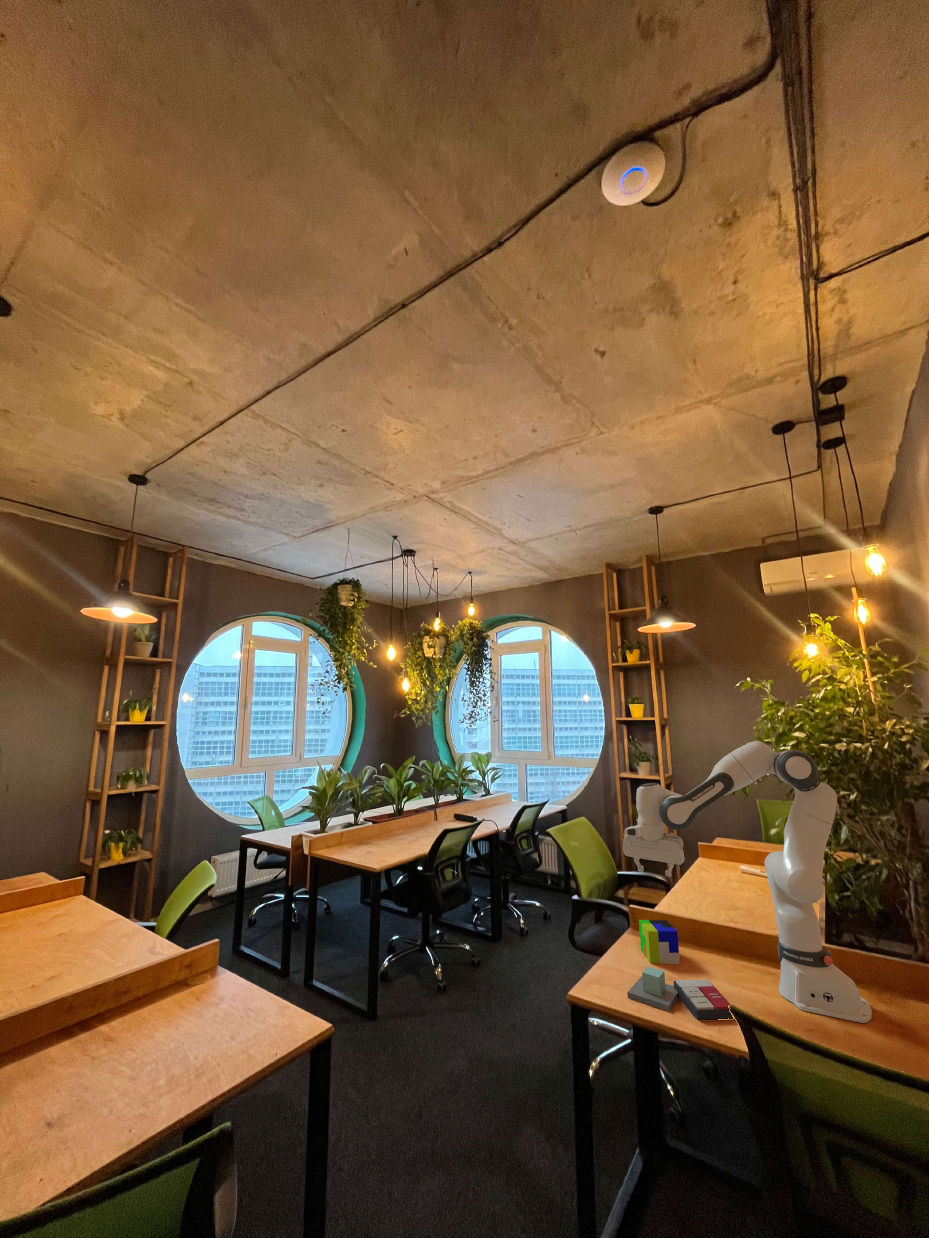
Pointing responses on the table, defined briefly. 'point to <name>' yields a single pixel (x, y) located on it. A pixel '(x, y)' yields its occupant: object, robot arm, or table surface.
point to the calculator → (702, 999)
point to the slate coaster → (654, 996)
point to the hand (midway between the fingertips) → (654, 873)
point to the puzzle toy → (659, 941)
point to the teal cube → (653, 981)
